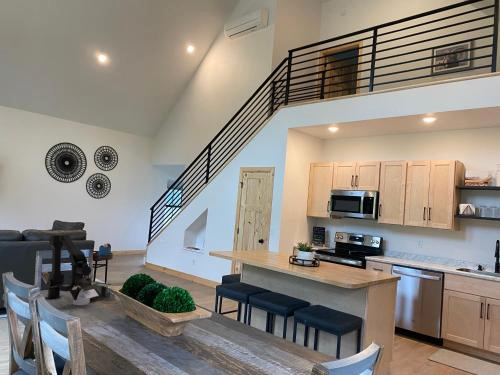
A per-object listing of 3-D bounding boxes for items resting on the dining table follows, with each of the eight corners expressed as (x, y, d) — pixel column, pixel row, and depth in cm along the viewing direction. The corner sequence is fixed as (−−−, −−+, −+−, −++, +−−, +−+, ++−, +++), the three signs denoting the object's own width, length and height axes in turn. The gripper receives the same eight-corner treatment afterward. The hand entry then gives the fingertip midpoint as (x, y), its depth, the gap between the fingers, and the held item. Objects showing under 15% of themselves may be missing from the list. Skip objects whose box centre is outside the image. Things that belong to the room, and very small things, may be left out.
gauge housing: (82, 296, 233) (83, 283, 233) (87, 294, 237) (88, 281, 237) (110, 300, 225) (110, 287, 225) (114, 299, 228) (115, 285, 229)
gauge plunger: (82, 295, 230) (82, 282, 230) (90, 293, 236) (90, 280, 236) (104, 299, 223) (105, 285, 223) (111, 297, 229) (112, 283, 230)
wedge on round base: (88, 298, 228) (70, 303, 216) (89, 287, 228) (70, 292, 217) (98, 300, 224) (79, 306, 212) (98, 290, 224) (80, 294, 212)
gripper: (73, 278, 202) (72, 306, 202) (98, 272, 220) (97, 298, 219) (59, 275, 207) (57, 303, 206) (85, 270, 224) (83, 295, 223)
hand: (75, 300), depth 213 cm, fingers closed
